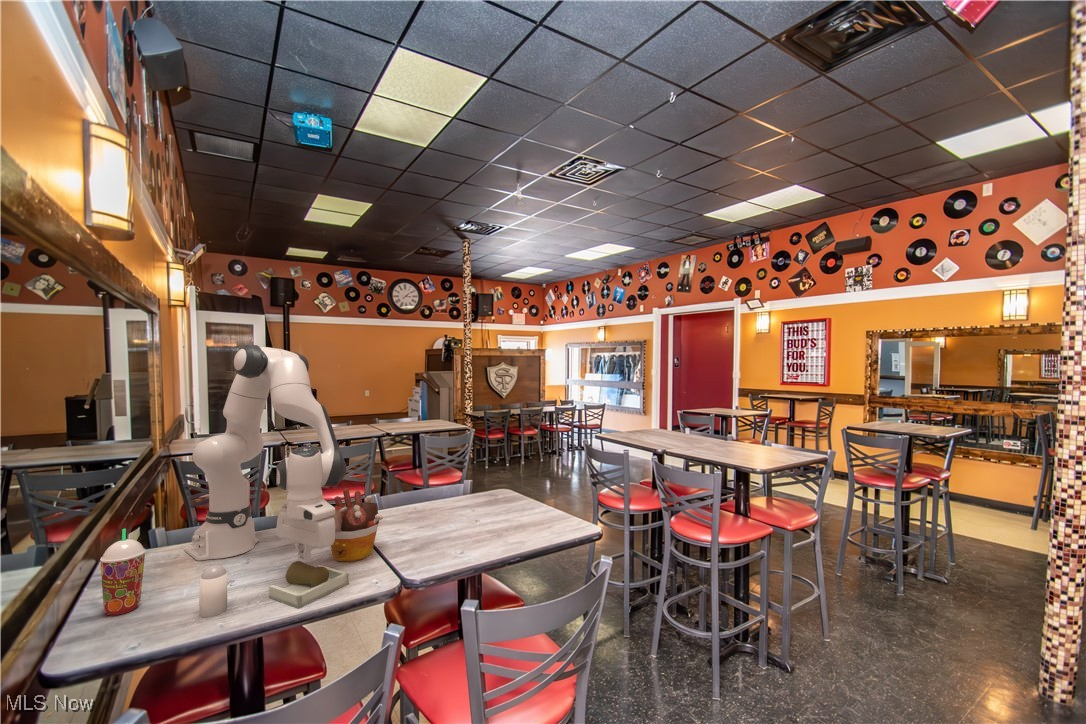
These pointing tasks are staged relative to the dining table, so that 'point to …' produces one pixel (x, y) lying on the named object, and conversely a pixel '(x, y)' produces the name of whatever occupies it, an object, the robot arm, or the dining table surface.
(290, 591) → the tray
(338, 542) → the bucket of meat
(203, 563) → the dining table surface
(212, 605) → the salt shaker
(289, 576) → the brown chess pawn
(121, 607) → the smoothie
